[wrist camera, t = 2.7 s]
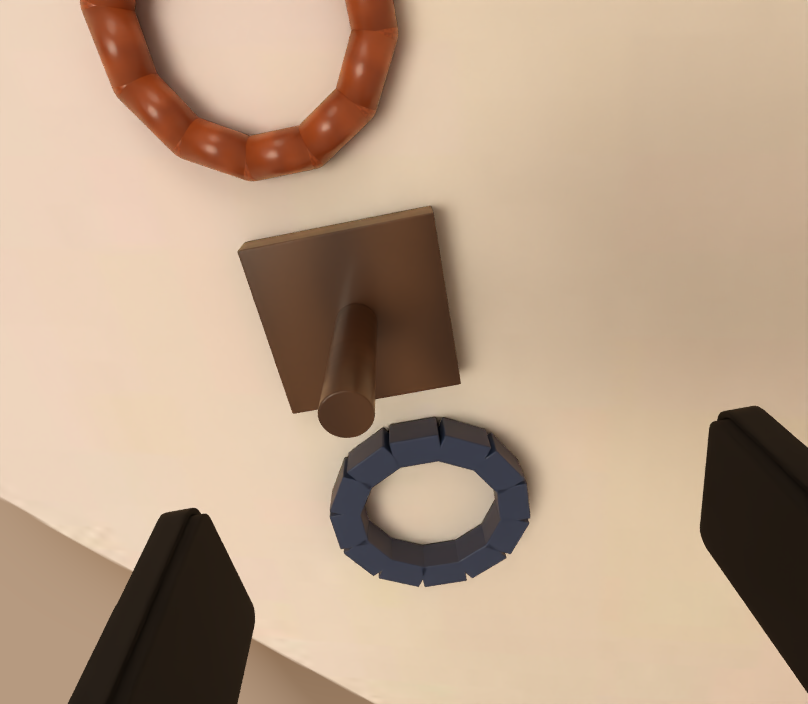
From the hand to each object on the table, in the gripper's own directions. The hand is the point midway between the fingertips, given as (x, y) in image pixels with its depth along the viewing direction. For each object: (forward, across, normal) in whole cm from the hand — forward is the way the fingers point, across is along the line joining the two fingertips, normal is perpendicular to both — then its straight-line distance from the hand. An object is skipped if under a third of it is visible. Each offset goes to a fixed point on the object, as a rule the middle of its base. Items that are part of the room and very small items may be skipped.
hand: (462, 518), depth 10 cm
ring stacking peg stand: (+18, +3, +3) cm, 18 cm away
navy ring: (+18, +2, +16) cm, 24 cm away
